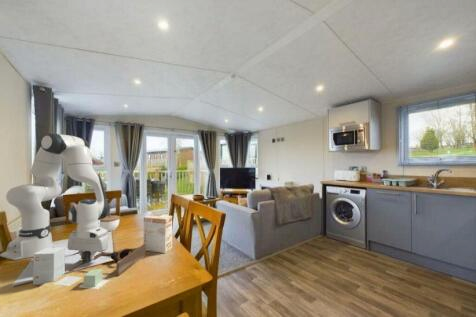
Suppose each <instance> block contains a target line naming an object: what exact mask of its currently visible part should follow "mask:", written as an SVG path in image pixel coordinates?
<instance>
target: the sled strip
mask: <svg viewBox="0 0 476 317" xmlns="http://www.w3.org/2000/svg"><path fill="white" fill-rule="evenodd" d="M133 250H134V251H133V252H131V251H130V252H129V253H128V254H129V255H127V256H126V257H124V258H123V259H121V260H120V261H117V262H116V273H109V272H102V276H103V275H104V276H114V277H115V276H116V277H120V276H121V275H122V274H123V273H125V272H127V270H129V269H130V268H132V267H133V266H134V265H136V263H138V262H139V261H141V260H144V259H145V258H146V250H145V244H142V245H140V246H139V247H138V248H136V249H133ZM112 253H113V252H109V251H108V252H107V251H103V252H98V254H95V255H94V259H92V260H89V256H91V254H92V253H91V251H84V252H82V259H81V262H82V263H80V264H78V265H76V266H75V267H73V268H71V269H69V270H68V272H71V273H72V272H74V273H84V274H87V273H88V272H89V271H90V270H89V271H86V270H77V268H78V267H81V266H82V265H85V264H86V263H90V262H91V261H96V260H97V259H98V258H100V257H102V256H105V257H110V256H111V254H112Z"/></svg>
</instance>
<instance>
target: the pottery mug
mask: <svg viewBox="0 0 476 317" xmlns="http://www.w3.org/2000/svg"><path fill="white" fill-rule="evenodd" d="M134 250H135V249H132V248H127V247H126V248H123V249H121V250H120V251H119V252H118V251H113V252H111V253H112V254H111V256H109V257H110V258H111V260H112V261H114V263H117V262H118V261H120V260H121V259H123V258H124V257H126V256H127V255H129V254H130V253H131V252H133V251H134Z"/></svg>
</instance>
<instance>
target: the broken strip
mask: <svg viewBox="0 0 476 317" xmlns="http://www.w3.org/2000/svg"><path fill="white" fill-rule="evenodd" d="M81 279H84V276H83V277H81V276H71V275H66V276H64V277H62V278H61V279H59V280H57V281H54V283H52V285H56V286H64V287H70V286H72V285H73V284H75V283H77V282H78V281H80V280H81ZM108 282H110V279H103V278H102V281H101V282H100V283H99V284H97V285H96V286H95V287H84V282H83V283H81V284H80V285H79V286H78V288H83V289H93V290H100V289H101V287H103V286H104V285H106V284H107V283H108Z"/></svg>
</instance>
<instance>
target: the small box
mask: <svg viewBox="0 0 476 317" xmlns="http://www.w3.org/2000/svg"><path fill="white" fill-rule="evenodd" d="M65 253H66V247H65V246H62V247H61V246H60V247H59V246H58V247H53V248H45V249H43V250H41V251H39V252H37V253H35V254H34V257H33V265H32V266H33V272H32V273H33V274H32V275H33V276H32V278H33V279H32V284H33V286H36V285H37V286H40V285H44V284H46V283H47V282H49V283H51V282H56V280H58V279H59V278H60V277H61V276H63V275H64V274H66V273H65V272H66V270H65V268H66V264H65V263H66V262H65V261H66V258H65V257H66V254H65Z"/></svg>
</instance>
